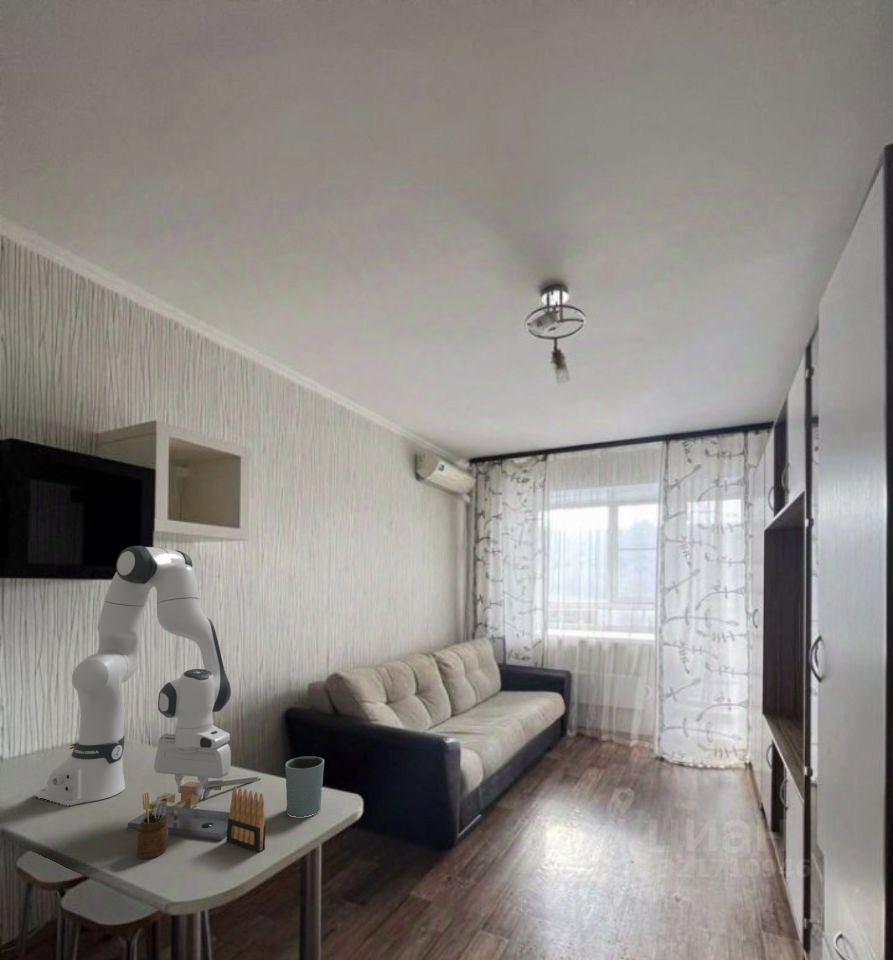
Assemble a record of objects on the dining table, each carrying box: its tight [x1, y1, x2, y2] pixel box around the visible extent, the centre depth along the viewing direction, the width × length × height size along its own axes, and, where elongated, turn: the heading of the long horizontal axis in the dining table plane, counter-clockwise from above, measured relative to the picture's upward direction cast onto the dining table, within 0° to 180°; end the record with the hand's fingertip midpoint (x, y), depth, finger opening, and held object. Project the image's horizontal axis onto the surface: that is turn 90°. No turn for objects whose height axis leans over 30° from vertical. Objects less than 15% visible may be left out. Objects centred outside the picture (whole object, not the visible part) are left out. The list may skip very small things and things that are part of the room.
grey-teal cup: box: [284, 755, 325, 817], centre depth 146 cm, size 10×10×12 cm
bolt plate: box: [126, 792, 230, 841], centre depth 137 cm, size 26×10×5 cm, turn 77°
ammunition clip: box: [225, 785, 266, 854], centre depth 128 cm, size 11×2×12 cm, turn 61°
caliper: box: [198, 775, 262, 803], centre depth 159 cm, size 20×1×6 cm, turn 146°
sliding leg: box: [173, 781, 200, 820], centre depth 139 cm, size 3×7×6 cm, turn 167°
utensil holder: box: [136, 791, 169, 860], centre depth 125 cm, size 6×6×12 cm
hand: (190, 793), depth 141 cm, fingers closed on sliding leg, 3 cm apart
